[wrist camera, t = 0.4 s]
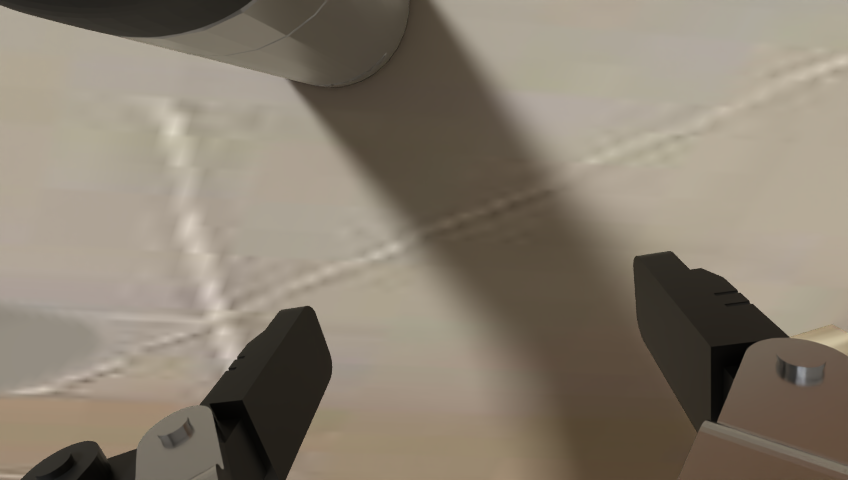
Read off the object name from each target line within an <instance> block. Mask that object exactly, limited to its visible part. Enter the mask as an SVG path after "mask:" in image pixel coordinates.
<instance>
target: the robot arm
mask: <svg viewBox="0 0 848 480" xmlns="http://www.w3.org/2000/svg"><path fill="white" fill-rule="evenodd" d="M0 5H2V6H4V7H7V8H10V9H13V10H16V11H19V12H22V13H26V14H29V15H33V16H37V17H40V18H44V19H48V20H52V21H56V22H59V23H63V24H67V25H71V26H75V27H79V28H84V29H88V30H92V31H96V32H101V33H105V34H110V35H114V36H118V37H122V38H126V39H130V40H134V41H138V42H142V43H146V44H150V45H154V46H158V47H162V48H166V49H170V50H174V51H178V52H182V53H186V54H192V55H196V56H200V57H204V58H208V59H212V60H216V61H219V62H223V63H227V64H231V65H235V66H239V67H243V68H247V69H251V70H255V71H259V72H263V73H267V74H271V75H275V76H279V77H283V78H287V79H290V80H294V81H298V82H302V83H307V84H311V85H314V86H323V87H341V86H347V85H350V84H354V83H357V82H360V81H362V80H364V79H366V78H367V77H369V76H371V75H373V74H374V73H376V72H377V71H378V70H379V69H380V68H381V67H382V66H383V65H384V64H386V63H387V62H388V60H389V59H390V57H391V56H392V55H393V53H394V52H395V50H396V49H397V48H398V46H399V43H400V41H401V39H402V36H403V34H404V32H405V29H406V24H407V19H408V15H409V0H0ZM633 268H634V283H635V297H636V312H637V321H638V325H639V329H640V333H641V336H642V338H643V341H644V342H645V344H646V346H647V348H648V349H649V351H650V353H651V354H652V356H653V358H654V360H655V361H656V363H657V365H658V366H659V368H660V370H661V372H662V373H663V375H664V377H665V378H666V380H667V382H668V383H669V385H670V387H671V389H672V390H673V392H674V394H675V395H676V397H677V399H678V401H679V402H680V404H681V406H682V407H683V409H684V411H685V413H686V414H687V416H688V418H689V419H690V421H691V423H692V424H693V426H694V428H695V430H696V431H697V433H698V434H697V436H696V438H695V441H694V443H693V445H692V447H691V450H690V452H689V454H688V457H687V459H686V461H685V463H684V466H683V468H682V470H681V473H680V475H679V477H678V479H677V480H848V356H847V355H845V354H844V353H842V352H840V351H838V350H836V349H834V348H831V347H829V346H826V345H823V344H820V343H817V342H813V341H809V340H803V339H797V338H790V337H789V336H788V335H787V334H785V333H784V332H783V331H782V330H781V329H780V328H779V327H778V326H777V325H775V324H774V323H773V322H772V321H771V320H770V319H769V318H768V317H767V316H765V315H764V314H763V313H762V312H761V311H760V310H759V309H758V308H757V307H755V306H754V305H753V304H750V302H749V300H748V299H747V298H746V297H744V296H743V295H742V294H741V293H738V291H737V289H736V288H734V287H733V286H732V285H731V284H730V283H729V282H728V281H727V280H726V279H724V278H723V277H721V276H719V275H716V274H714V273H711V272H709V271H707V270H704V269H702V268H699V269H692V270H690V269H689V268H688V267H687V266H686V265H685V264H684V263H683V262H682V261H681V260H680V259H679V258H678V257H677V256H676V255H675V254H674V253H673V252H671V251H667V252H660V253H654V254H647V255H641V256H636V257H635V258H634V263H633ZM331 374H332V360H331V355H330V352H329V349H328V347H327V344H326V341H325V338H324V335H323V333H322V330H321V327H320V324H319V321H318V319H317V316H316V313H315V311H314V310H313V308H312V307H310V306H304V307H297V308H291V309H284V310H281V311H279V312H278V314H277V315H276V316H275V318H274V319H273V320H272V322H271V323H270V324H269V326H268V327H267V328H266V330H265V331H263V332H262V333H261V334H259V335H258V336H257V337H256V338H254V339H253V340H252V341H250V342H249V343H248V344H247V345H246V347H245V348H244V349H243V350H242V352H241V353H240V354H239V355H238V357H237V360H235V361H234V362H233V363H232V364H231V366H230V367H229V371H226V372H225V373H224V375H223V376H222V377H221V378H220V380H219V381H218V382H217V384H216V385H215V386H214V387H213V389H212V390H211V391H210V392H209V394H208V395H207V396H206V398H205V399H204V400H203V401H202V403H201V404H200V405H197V406H191V407H187V408H184V409H181V410H179V411H176V412H174V413H172V414H170V415H169V416H167V417H165V418H164V419H162V420H161V421H159V422H158V423H157V424H155V425H154V426H153V427H152V428H151V429H150V430H149V431H148V432H147V433H146V434H145V435H144V436H143V437H142V439H141V441H140V442H139V444H138V447H137V449H135V450H132V451H129V452H126V453H123V454H120V455H117V456H114V457H111V458H108V459H107V458H106V456H105V455H104V453H103V452H102V450H101V448H100V447H99V445H98V444H97V443H96V442H93V441H84V442H79V443H76V444H73V445H70V446H68V447H66V448H63V449H61V450H59V451H57V452H56V453H54V454H52V455H51V456H49V457H47V458H46V459H44V460H43V461H41V462H40V463H39V464H37V465H36V466H35V467H34V468H32V469H31V470H30V471H29V472H28V473H27V474H26V475H25V476H24V477H23V478H22V479H21V480H286V478H287V475H288V473H289V471H290V469H291V466H292V464H293V462H294V460H295V457H296V455H297V453H298V451H299V448H300V446H301V444H302V442H303V439H304V437H305V435H306V433H307V430H308V428H309V426H310V424H311V421H312V419H313V417H314V415H315V412H316V410H317V408H318V406H319V404H320V401H321V399H322V397H323V395H324V392H325V390H326V388H327V386H328V383H329V381H330V378H331Z"/></svg>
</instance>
